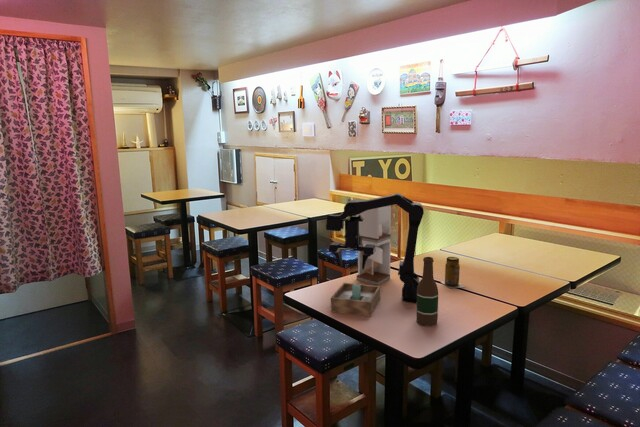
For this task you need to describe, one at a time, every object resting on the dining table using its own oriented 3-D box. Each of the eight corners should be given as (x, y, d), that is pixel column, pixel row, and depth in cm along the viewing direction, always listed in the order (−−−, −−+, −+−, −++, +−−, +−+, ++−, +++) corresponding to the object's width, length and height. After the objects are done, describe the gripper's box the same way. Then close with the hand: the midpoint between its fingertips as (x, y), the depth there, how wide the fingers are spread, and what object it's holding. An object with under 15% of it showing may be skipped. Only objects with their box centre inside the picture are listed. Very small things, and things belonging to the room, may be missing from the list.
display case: (356, 279, 206) (356, 204, 200) (369, 273, 214) (369, 201, 207) (377, 284, 199) (377, 207, 192) (390, 278, 207) (390, 204, 200)
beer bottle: (433, 328, 155) (435, 262, 151) (412, 323, 159) (413, 259, 155) (440, 320, 162) (442, 256, 157) (419, 315, 166) (421, 253, 161)
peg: (361, 304, 178) (361, 284, 176) (359, 307, 175) (359, 287, 173) (353, 303, 179) (353, 284, 177) (351, 306, 176) (351, 286, 174)
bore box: (380, 299, 182) (380, 286, 181) (370, 316, 166) (370, 302, 165) (343, 295, 187) (343, 282, 186) (330, 311, 171) (330, 298, 170)
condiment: (455, 280, 202) (456, 255, 200) (464, 287, 194) (466, 260, 192) (440, 282, 200) (441, 256, 198) (449, 288, 192) (450, 262, 190)
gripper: (378, 228, 186) (378, 264, 189) (335, 226, 192) (336, 261, 195) (373, 234, 175) (373, 272, 178) (327, 232, 181) (328, 268, 184)
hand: (352, 268), depth 184 cm, fingers open, 9 cm apart
